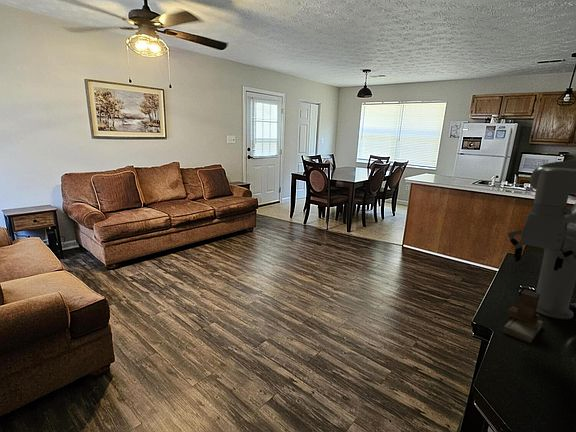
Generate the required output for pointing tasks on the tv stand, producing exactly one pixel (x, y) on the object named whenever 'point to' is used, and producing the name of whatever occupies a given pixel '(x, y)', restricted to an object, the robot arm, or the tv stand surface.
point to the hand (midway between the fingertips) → (536, 264)
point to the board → (522, 329)
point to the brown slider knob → (525, 308)
